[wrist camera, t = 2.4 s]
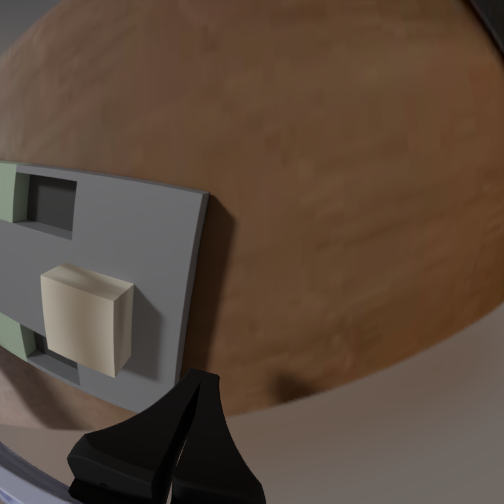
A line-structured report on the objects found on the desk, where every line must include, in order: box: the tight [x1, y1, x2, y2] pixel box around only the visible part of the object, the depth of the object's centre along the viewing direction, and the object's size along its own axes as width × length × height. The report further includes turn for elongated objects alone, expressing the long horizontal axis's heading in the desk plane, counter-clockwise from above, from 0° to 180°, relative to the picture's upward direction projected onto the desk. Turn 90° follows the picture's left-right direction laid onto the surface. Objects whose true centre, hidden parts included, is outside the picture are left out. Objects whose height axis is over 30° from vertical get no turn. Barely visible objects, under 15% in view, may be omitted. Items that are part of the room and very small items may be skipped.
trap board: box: [0, 161, 210, 413], centre depth 16 cm, size 20×16×4 cm
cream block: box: [41, 263, 134, 378], centre depth 15 cm, size 5×5×2 cm
